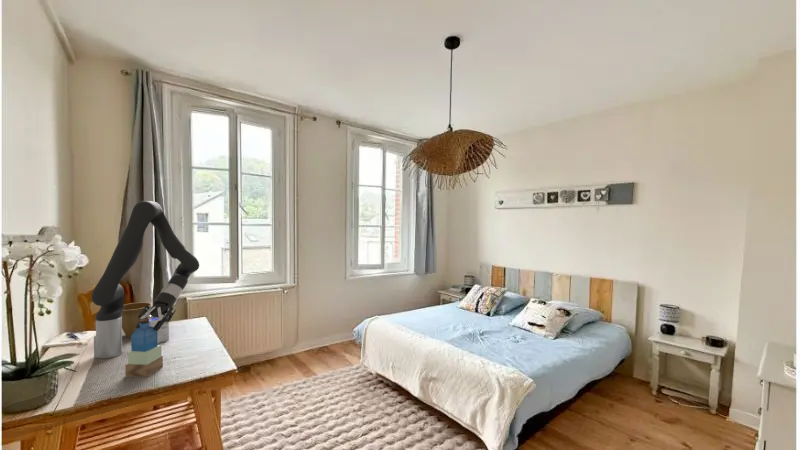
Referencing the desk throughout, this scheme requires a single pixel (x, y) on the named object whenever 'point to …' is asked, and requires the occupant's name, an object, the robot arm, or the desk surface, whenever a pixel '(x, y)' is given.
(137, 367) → the tower base block
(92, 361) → the desk surface
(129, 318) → the plant pot
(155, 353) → the tower top block
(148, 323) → the perfume bottle
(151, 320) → the ink cartridge box
